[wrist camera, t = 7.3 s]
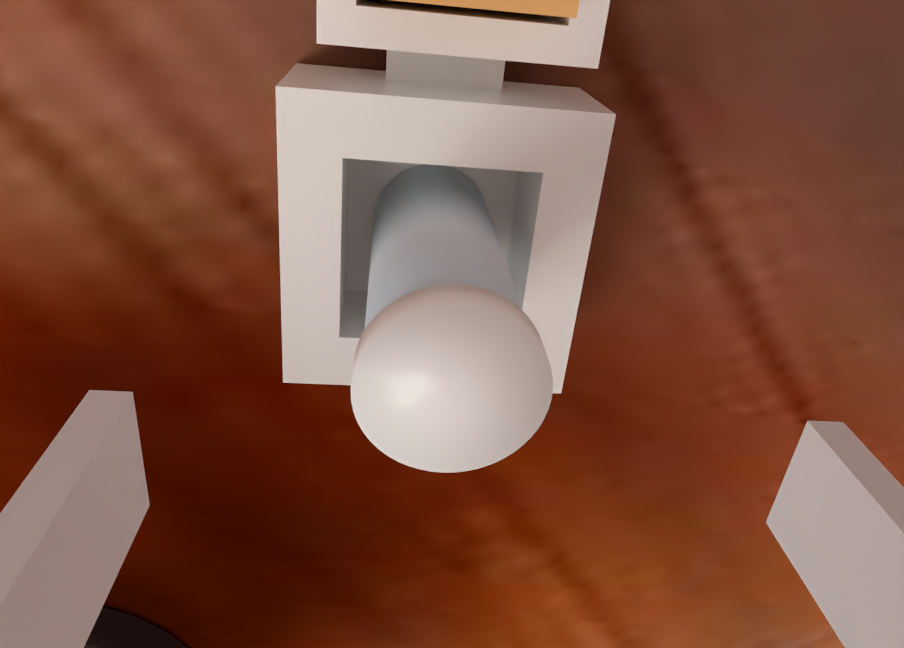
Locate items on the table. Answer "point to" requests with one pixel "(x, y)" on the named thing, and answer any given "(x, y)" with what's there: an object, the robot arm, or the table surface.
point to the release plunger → (514, 6)
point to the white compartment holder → (435, 161)
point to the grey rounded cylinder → (444, 332)
